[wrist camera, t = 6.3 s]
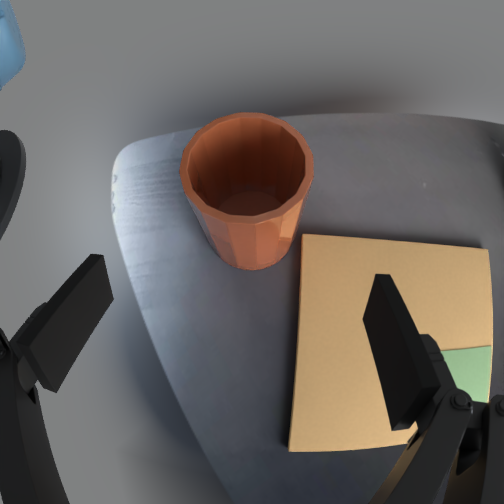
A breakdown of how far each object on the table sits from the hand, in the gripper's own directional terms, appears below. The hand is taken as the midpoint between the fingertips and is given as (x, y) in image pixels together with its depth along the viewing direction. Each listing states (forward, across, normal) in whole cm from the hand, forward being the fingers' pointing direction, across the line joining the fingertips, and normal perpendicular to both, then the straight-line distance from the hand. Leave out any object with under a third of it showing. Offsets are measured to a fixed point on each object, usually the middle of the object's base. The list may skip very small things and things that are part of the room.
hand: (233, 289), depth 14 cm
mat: (+7, +15, -10) cm, 19 cm away
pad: (+3, +21, -14) cm, 25 cm away
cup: (+14, 0, -3) cm, 14 cm away
